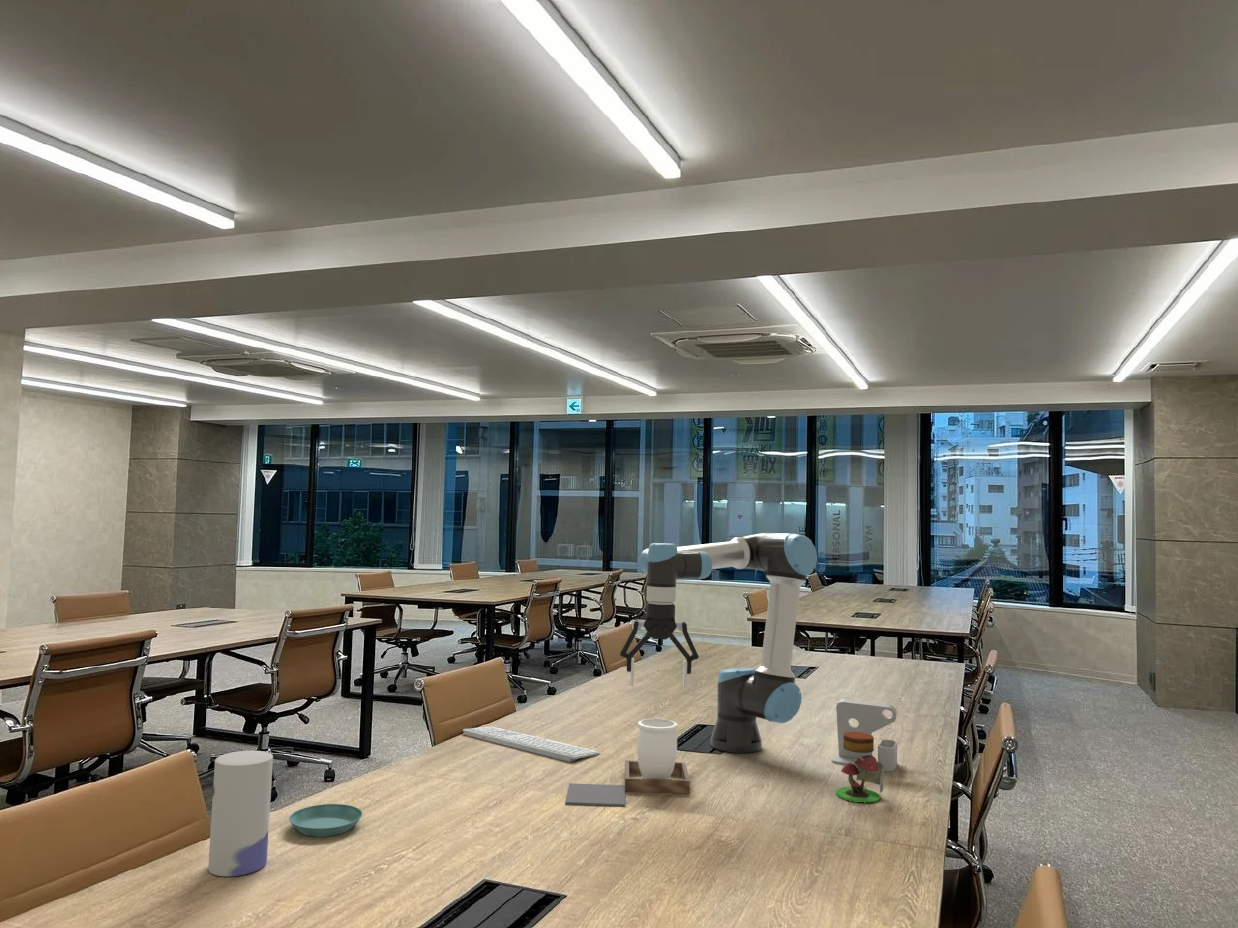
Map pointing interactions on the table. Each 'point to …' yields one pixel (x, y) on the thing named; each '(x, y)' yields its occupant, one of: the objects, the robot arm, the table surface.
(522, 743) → the keyboard
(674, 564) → the robot arm
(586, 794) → the felt pad
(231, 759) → the container
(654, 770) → the jar
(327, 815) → the saucer
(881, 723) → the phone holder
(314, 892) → the table surface
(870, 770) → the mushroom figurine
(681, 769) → the holder frame
